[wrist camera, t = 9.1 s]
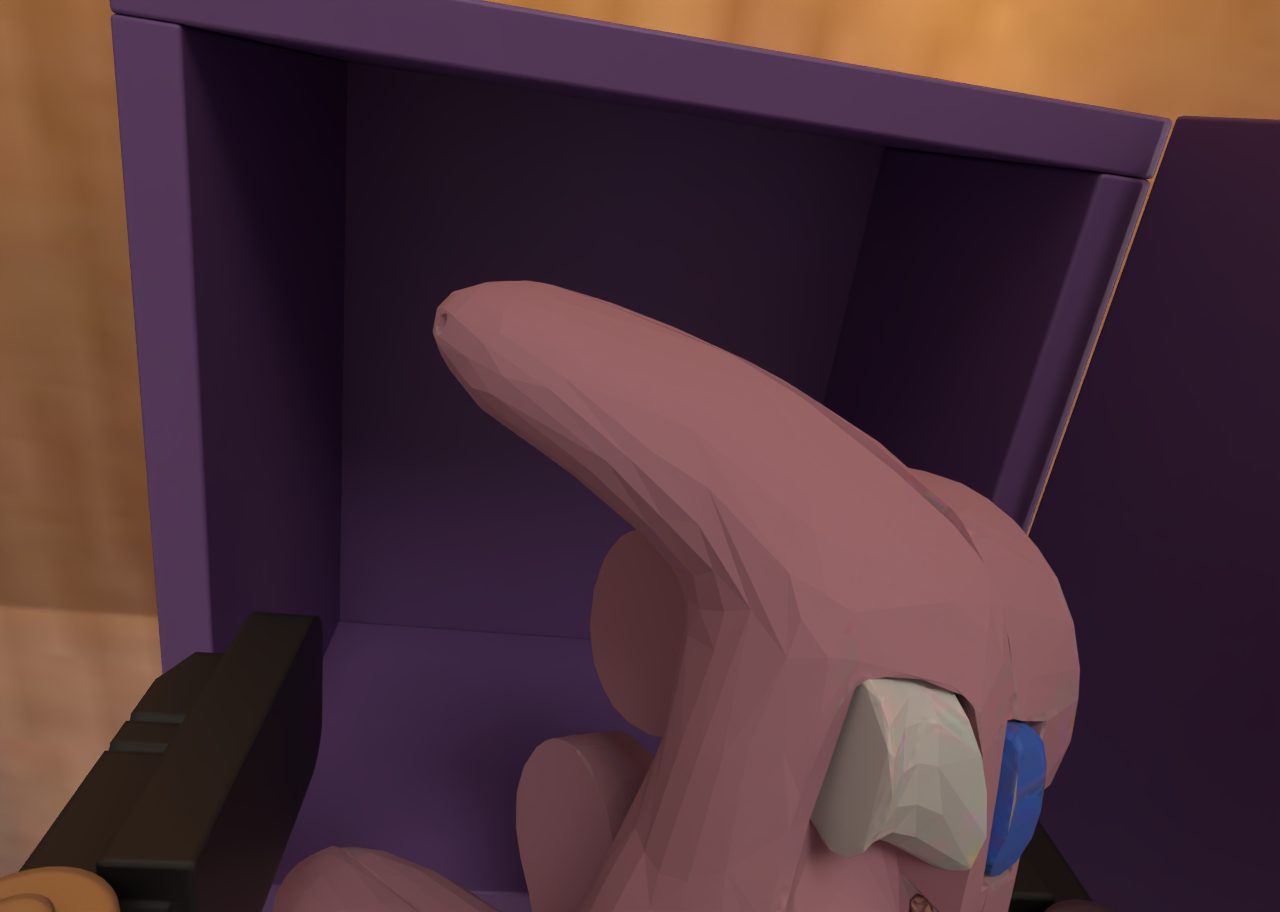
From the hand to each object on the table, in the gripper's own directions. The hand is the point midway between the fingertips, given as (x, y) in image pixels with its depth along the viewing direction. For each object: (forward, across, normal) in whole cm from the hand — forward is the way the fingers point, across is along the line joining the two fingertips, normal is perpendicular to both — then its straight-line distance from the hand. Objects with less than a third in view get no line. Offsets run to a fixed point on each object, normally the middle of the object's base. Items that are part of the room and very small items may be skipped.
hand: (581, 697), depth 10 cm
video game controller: (+1, 0, 0) cm, 1 cm away
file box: (+12, 0, 0) cm, 12 cm away
